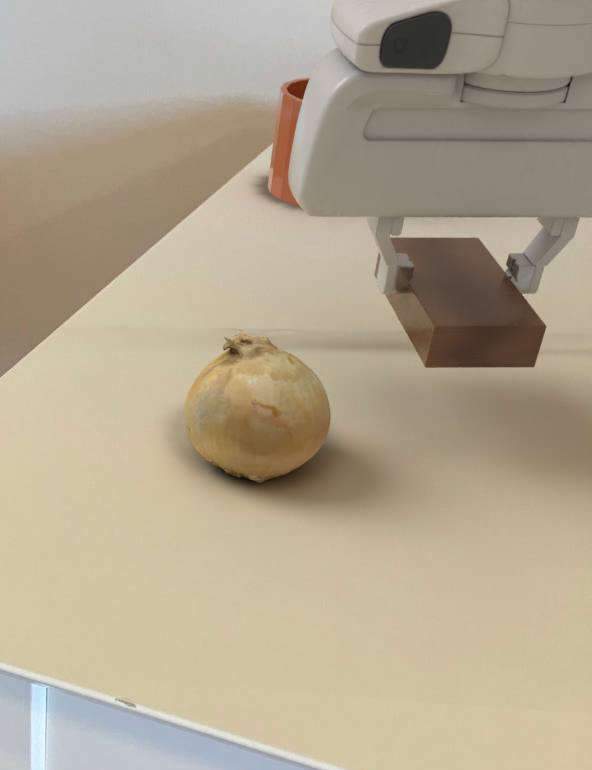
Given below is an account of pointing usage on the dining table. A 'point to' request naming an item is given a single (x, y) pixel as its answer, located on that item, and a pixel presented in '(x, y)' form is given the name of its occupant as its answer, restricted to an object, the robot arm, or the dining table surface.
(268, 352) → the onion
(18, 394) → the dining table surface
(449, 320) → the brown wooden block
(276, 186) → the terracotta cup
